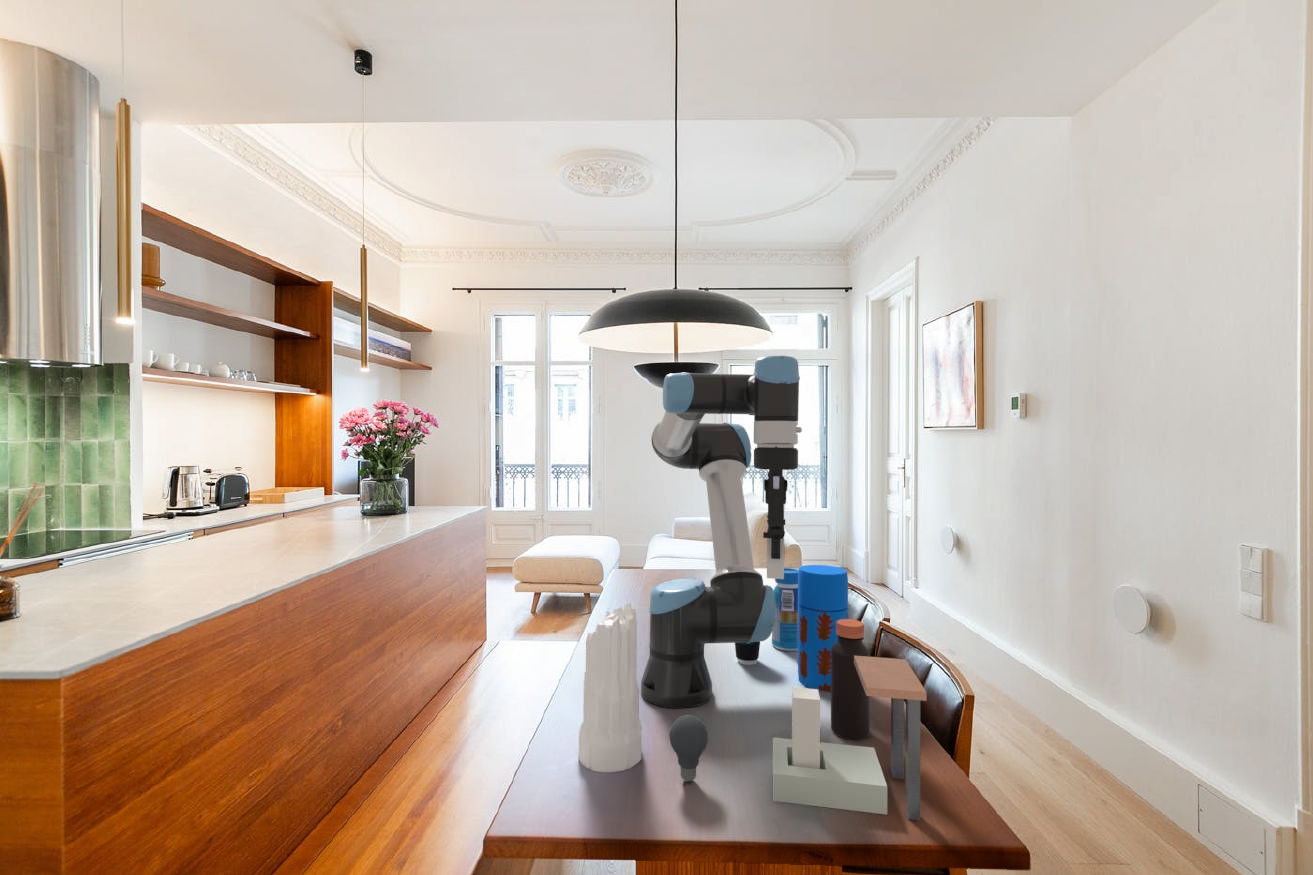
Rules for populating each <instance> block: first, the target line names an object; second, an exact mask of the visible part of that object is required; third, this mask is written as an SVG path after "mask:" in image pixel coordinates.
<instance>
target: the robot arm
mask: <svg viewBox="0 0 1313 875" xmlns="http://www.w3.org/2000/svg"><path fill="white" fill-rule="evenodd" d="M798 361H799V360H797V359H796V358H795V357H793V356H788V355H767V356H766V355H765V356H760V357H758V358H757V359H756V360H755V362H754V370H753V374H745V373H744V374H743V373H742V374H741V373H739V374H737V373H735V374H734V373H733V374H731V373H701V372H700V373H697V372H694V373H693V372H684V371H683V372H676V373H669V374H666V375H665V377H664V379H663V385H662V407H663V409H664V410H665V412H664V415H663V417H662V420H661V421H659V422H658V423H657V424H656V425H655V427H654V429H653V432H652V434H651V445H652V448H653V451H654V453H655V454H656V455H657V457H659V459H661V460H662V461H663V462H664V463H666V464H668V465H669V466H672V467H676V468H678V469H683V470H685V469H687V470H688V469H689V470H698V475H699V478H700V479H701V480H703V481H704V482H705V484H706V493H707V503H708V509H709V510H708V511H709V512H708V513H709V519H710V520H709V521H710V529H711V540H712V548H713V557H714V566H715V567H714V568H715V574H714V575H713V576H712V578H710V581H709V585H710V586H706V584H705V582H704V581H703V580H701V579H698V578H679V579H678V578H676V579H672V580H671V579H670V580H667V581H665V582H662V583H659V584H657V585H656V586H654V587H653V589H652V590H651V592H650V598H649V599H650V600H649V607H648V612H649V656H648V660H647V662H646V664H645V669H644V672H643V675H642V678H641V683H640V694H641V697H642V698H643V699H644V700H646V701H647V702H649V703H651V704H652V705H656V706H658V707H659V706H660V707H665V708H670V709H671V708H674V709H684V708H685V709H686V708H692V707H693V708H694V707H698V706H701V705H702V704H705V703H707V702H708V701H709V700H710V699H712V696H713V682H712V678H711V675H710V671H709V668H708V665H707V662H706V659H705V644H735V643H744V642H746V643H750V642H760V643H761V642H764V641H767V639H769V638H770V636H772V630H773V626H774V621H775V609H776V606H775V595H774V592H773V590H774V588H773V587H772V586H770V585H768V584H765V585H764V579H763V574H761V573H760V572H758V571H757V570H756V569H755V566H754V559H753V552H752V546H751V539H750V538H751V537H750V533H749V532H750V531H749V525H748V516H747V510H746V509H747V508H746V504H745V497H744V490H743V482H742V477H744V475H745V474H746V472H747V469H749V467H750V465H751V462H752V451H751V450H752V446H751V440H750V437H749V434H748V432H747V430H746V428H744V427H743V426H742V425H741V424H739V423H730V422H723V423H705V422H704V423H703V422H702V419H703V418H704V416H705V415H707V414H710V415H711V414H712V415H713V414H714V415H719V414H720V415H749V416H753V417H754V418H753V419H754V421H753V444H754V445H757V446H756V447H754V449H753V467H754V468H755V469H757V470H768V472H767V475H766V476H767V478H764V479H763V490H764V493H765V494H764V495H765V496H764V498H765V500H764V501H765V504H767V515H766V518H767V520H766V521H767V522H766V523H767V525H766V531H764V532H763V534H762V536H763V539H766V579H774V580H775V579H784V568H785V534H786V531H785V526H786V519H785V505H786V503H787V491H788V480H787V479H785V477H784V476H783V473H784V472H783V471H785V470H787V471H791V470H797V468H798V467H799V449H798V448H797V447H795V445H797V444H798V442H799V435H798V433H799V434H800V433H802V431H803V429H802V427H801V426H798V425H799V398H800V397H799V396H800V393H799V392H800V389H799V388H800V387H799V386H800V379H801V377H800V372H799V371H800V370H799V369H800V368H799V362H798ZM700 422H701V423H700Z"/></svg>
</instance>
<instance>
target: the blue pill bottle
mask: <svg viewBox="0 0 1313 875" xmlns="http://www.w3.org/2000/svg"><path fill="white" fill-rule="evenodd" d="M798 571H799V569H796V568H791V567H784V579H774V581H775V584H776V585H775V586H774V588H773V592H774V595H775V606H776V609H775V621H774V626H773V630H772V633H771V645H772V646H773V647H774V648H775V649H777V650H781V651H786V652H787V651H788V652H796V651H797V652H798Z"/></svg>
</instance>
